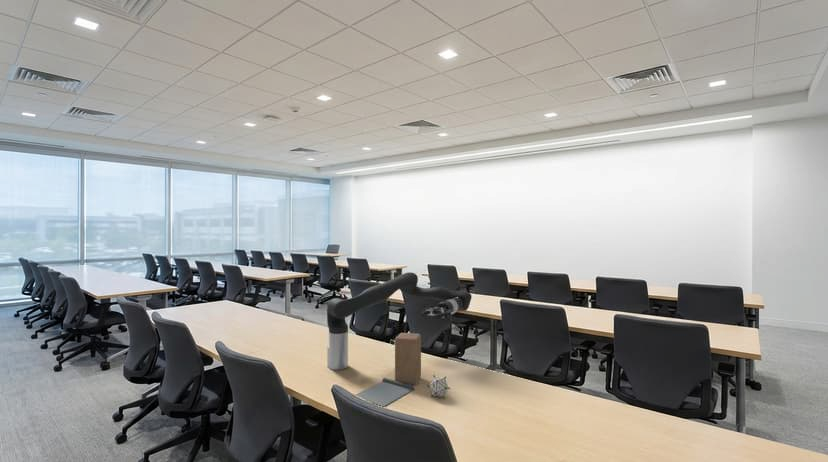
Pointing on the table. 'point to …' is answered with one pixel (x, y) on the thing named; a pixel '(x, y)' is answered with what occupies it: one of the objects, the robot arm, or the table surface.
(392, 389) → the mat
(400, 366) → the wooden block
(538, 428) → the table surface
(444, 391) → the grey spiky star polyhedron
